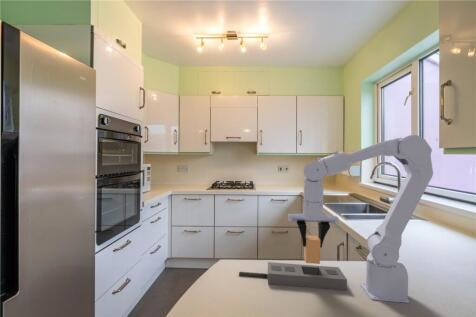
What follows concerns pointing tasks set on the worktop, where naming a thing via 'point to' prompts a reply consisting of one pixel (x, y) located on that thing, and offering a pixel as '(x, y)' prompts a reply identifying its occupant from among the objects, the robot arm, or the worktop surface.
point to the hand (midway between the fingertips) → (312, 246)
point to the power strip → (303, 276)
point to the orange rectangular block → (312, 249)
